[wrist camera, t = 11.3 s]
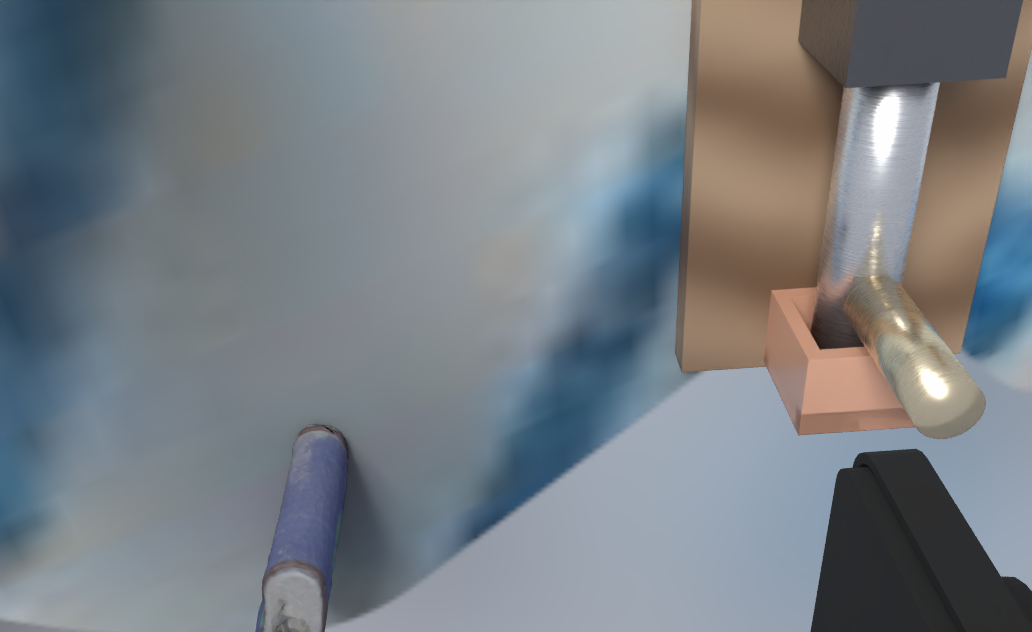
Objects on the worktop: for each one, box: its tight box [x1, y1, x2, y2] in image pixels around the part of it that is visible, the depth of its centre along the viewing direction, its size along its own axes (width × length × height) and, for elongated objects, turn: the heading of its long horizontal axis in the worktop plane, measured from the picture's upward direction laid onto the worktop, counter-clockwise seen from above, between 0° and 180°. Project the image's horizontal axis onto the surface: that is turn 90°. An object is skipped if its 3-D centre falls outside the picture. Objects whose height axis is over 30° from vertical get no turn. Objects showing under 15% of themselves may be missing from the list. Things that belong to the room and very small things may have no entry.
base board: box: [675, 0, 1032, 372], centre depth 37 cm, size 23×12×2 cm, turn 3°
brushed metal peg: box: [811, 82, 986, 439], centre depth 33 cm, size 15×3×10 cm, turn 3°
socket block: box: [764, 287, 915, 435], centre depth 39 cm, size 4×5×5 cm
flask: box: [255, 424, 348, 632], centre depth 42 cm, size 9×3×11 cm, turn 164°
